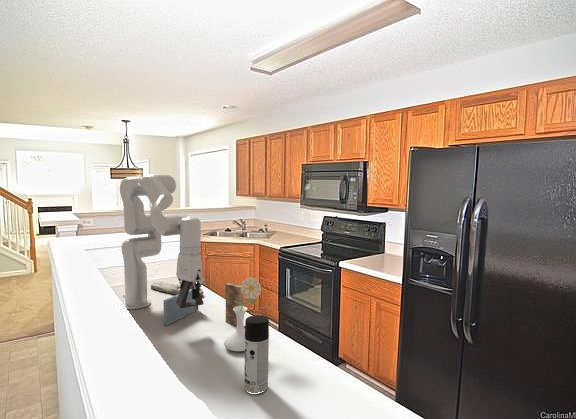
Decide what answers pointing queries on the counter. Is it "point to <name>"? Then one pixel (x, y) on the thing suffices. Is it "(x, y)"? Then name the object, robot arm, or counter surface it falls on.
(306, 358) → the counter surface
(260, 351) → the spray can
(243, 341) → the flower in vase
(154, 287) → the long grey stone
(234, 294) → the brown wooden blocks
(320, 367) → the counter surface
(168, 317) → the blue rectangular panel
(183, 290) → the phone stand
